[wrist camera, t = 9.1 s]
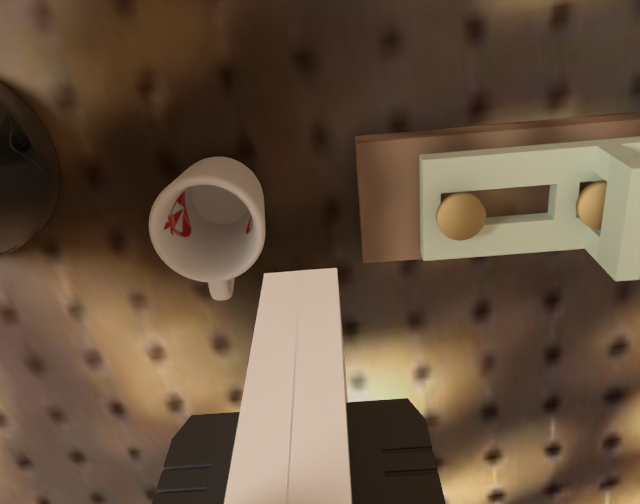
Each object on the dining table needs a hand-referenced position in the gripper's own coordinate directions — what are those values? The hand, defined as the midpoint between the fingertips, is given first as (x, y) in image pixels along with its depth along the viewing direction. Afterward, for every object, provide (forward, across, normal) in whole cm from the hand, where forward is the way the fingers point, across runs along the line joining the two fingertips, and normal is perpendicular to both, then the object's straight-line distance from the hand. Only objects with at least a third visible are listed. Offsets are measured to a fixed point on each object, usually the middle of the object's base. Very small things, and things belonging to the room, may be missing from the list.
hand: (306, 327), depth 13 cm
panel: (+32, +18, -10) cm, 38 cm away
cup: (+35, -8, -10) cm, 37 cm away
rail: (+34, +16, -10) cm, 39 cm away
